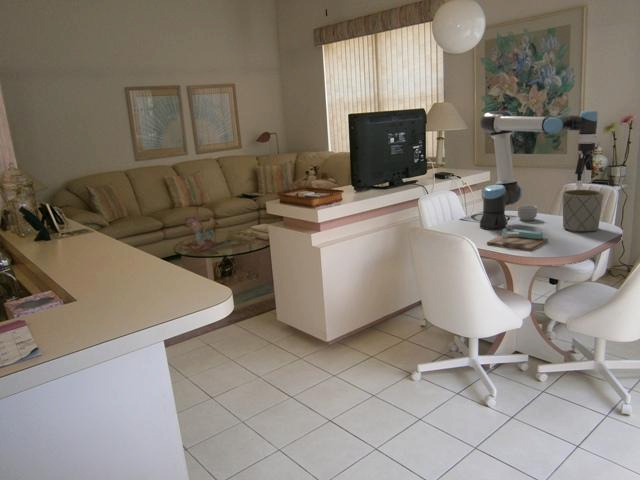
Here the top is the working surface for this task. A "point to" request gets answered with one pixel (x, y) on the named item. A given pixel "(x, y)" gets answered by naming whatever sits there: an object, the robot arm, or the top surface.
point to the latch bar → (526, 233)
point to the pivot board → (516, 241)
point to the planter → (582, 210)
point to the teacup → (527, 212)
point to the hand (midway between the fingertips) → (583, 184)
